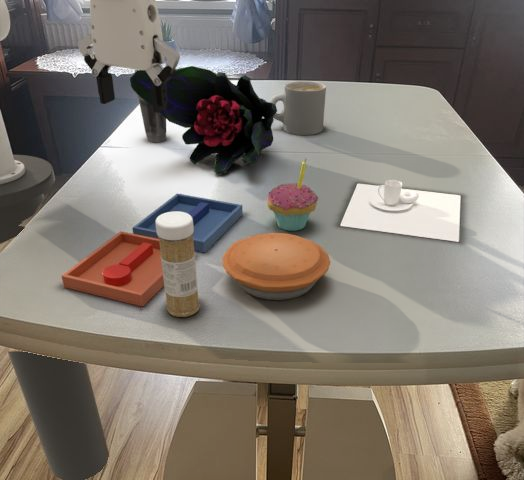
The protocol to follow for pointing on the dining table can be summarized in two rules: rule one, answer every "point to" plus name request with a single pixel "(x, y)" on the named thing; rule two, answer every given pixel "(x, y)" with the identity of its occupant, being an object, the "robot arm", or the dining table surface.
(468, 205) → the dining table surface
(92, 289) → the terracotta tray
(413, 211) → the teacup and saucer
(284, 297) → the pie
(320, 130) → the coffee mug
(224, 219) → the blue tray
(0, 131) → the robot arm
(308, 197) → the cupcake
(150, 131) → the beverage cup
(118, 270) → the red spoon
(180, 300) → the sprinkles bottle
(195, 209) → the blue spoon
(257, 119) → the decorative plant
